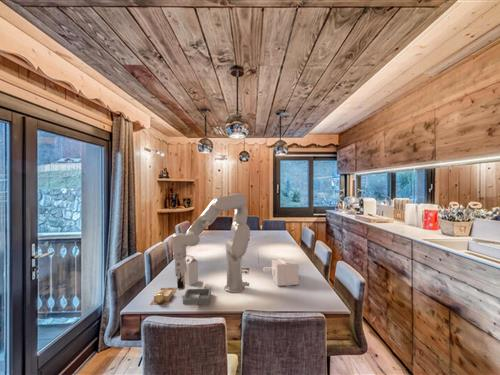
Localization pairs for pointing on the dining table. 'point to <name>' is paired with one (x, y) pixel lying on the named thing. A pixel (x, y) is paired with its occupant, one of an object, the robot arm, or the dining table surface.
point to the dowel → (183, 284)
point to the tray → (203, 297)
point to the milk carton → (191, 270)
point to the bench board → (165, 301)
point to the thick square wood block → (167, 294)
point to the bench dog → (160, 298)
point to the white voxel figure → (284, 272)
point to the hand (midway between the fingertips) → (181, 285)
